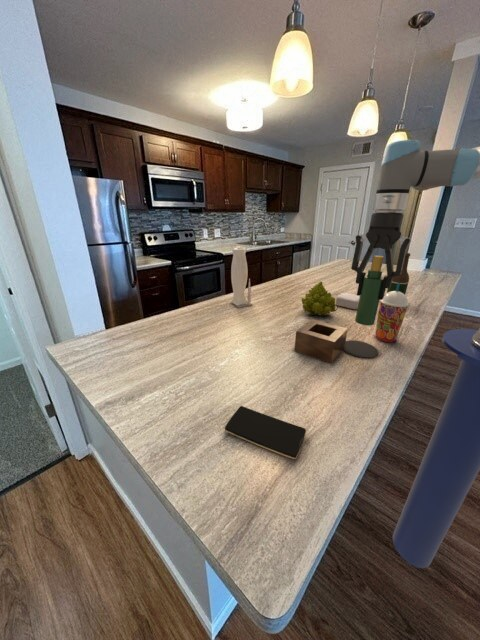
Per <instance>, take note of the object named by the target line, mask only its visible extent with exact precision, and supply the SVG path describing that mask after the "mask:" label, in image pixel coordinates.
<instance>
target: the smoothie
mask: <svg viewBox="0 0 480 640" xmlns="http://www.w3.org/2000/svg"><path fill="white" fill-rule="evenodd" d="M399 286H400V283H398V284H397V288H396V291H391V292H388V293H387V292H385V294H384V298H383V299H382V300H379V305H378V311H377V319H376V326H375V327H376V328H375V333H374V334H375V337H376V338H377V340H378V341H382V342H385V343H393V342H395V340H396V339H397V338H398V335H399V333H400V330H401V327H402V324H403V321H404V319H405V316H406V314H407V310H408V308H409V305H410V303H409V301H408V298H407V295H406V294H405V295H404V294H403V293H402V292H399V291H398V290H399Z"/></svg>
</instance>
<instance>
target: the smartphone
mask: <svg viewBox="0 0 480 640" xmlns="http://www.w3.org/2000/svg"><path fill="white" fill-rule="evenodd" d="M224 432H226V433H228V434H230V435H233V436H235V437H237V438H239V439H242V440H244V441H246V442H249V443H251V444H253V445H256V446H258V447H261V448H263V449H266V450H268V451H270V452H273V453H276V454H278V455H280V456H283V457H286V458H288V459H291V460H296V459H297V458H298V456H299V453H300V451H301V449H302V447H303V443H304V440H305V436H306V432H307V429H306V428H305V427H302V426H299V425H297V424H293V423H290V422H288V421H284V420H281V419H278V418H276V417H273V416H271V415H267V414H265V413H263V412H262V413H261V412H259V411H256V410H253V409H251V408H248V407H246V406H243V405H240V406H239V407H238V408H237V410H236V411H235V412H234V413H233V415H232V416H231V417H230V419H229V420H228V422H227V423H226V424H225V426H224Z"/></svg>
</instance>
